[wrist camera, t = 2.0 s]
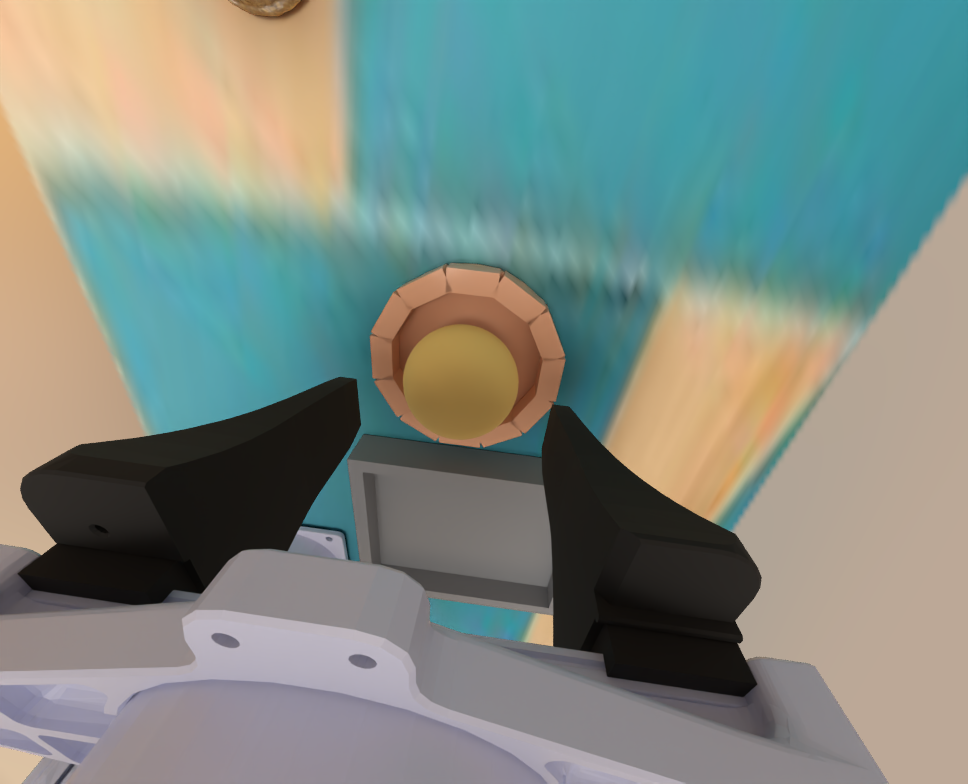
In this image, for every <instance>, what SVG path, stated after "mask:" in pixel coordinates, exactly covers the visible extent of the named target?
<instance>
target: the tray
mask: <svg viewBox="0 0 968 784" xmlns="http://www.w3.org/2000/svg"><path fill="white" fill-rule="evenodd" d="M347 462H348V470H349V478H350V486H351V494H352V502H353V510H354V518H355V526H356V534H357V542H358V550H359V558H360V562H365V563H372V564H379V565H383V566H386V567H390V568H393V569H396V570H399V571H403V572H405V573H406V574H407V575H409V576H410V577H411V578H413V579H414V580H415V581H417V582H418V583H419V584H421V586H422V587H423V588H424V590H425V593H426V595H427V597H428V598H435V599H442V600H449V601H456V602H463V603H470V604H477V605H484V606H491V607H498V608H505V609H512V610H519V611H526V612H533V613H540V614H547V615H553V576H552V548H551V532H550V523H549V517H548V510H547V503H546V497H545V490H544V483H543V476H542V458H539V457H532V456H524V455H517V454H509V453H501V452H494V451H486V450H479V449H471V448H464V447H456V446H448V445H441V444H433V443H426V442H418V441H411V440H403V439H396V438H388V437H380V436H373V435H365V434H363V436H362V437H361V439H360V440H359V442H358V443H357V445H356V446H355V448H354V449H353V451H352V452H351V454H350V456H349V457H348V459H347Z"/></svg>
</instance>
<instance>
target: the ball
mask: <svg viewBox="0 0 968 784" xmlns="http://www.w3.org/2000/svg"><path fill="white" fill-rule="evenodd" d="M518 384H519V380H518V372H517V367H516V364H515V361H514V359H513V357H512V355H511V353H510V351H509V350H508V348H507V347H506V345H505V344H504V343H503V342H502V341H501V340H500V339H499V338H497V337H496V336H495V335H493V334H492V333H490V332H489V331H487V330H485V329H482V328H480V327H476V326H472V325H465V324H455V325H449V326H444V327H442V328H439V329H437V330H435V331H433V332H431V333H429V334H428V335H426V336H425V337H424V338H423V339H422V340H421V341H419V343H418V344H417V345H416V346H415V347H414V349H413V350H412V352H411V353H410V355H409V357H408V359H407V362H406V365H405V369H404V374H403V389H404V395H405V399H406V402H407V404H408V407H409V409H410V410H411V412H412V414H413V415H414V416H415V418H416V419H417V420H418V421H419V422H420V423H421V424H422V425H423V426H424V427H425V428H427V429H428V430H430V431H431V432H433V433H435V434H437V435H439V436H442V437H445V438H449V439H457V440H466V439H472V438H476V437H480V436H482V435H485V434H487V433H489V432H490V431H492V430H493V429H495V428H496V427H498V426H499V425H500V424H501V423H502V422H503V421H504V420H505V418H506V417H507V416H508V415H509V413H510V411H511V410H512V408H513V405H514V403H515V401H516V397H517V393H518Z"/></svg>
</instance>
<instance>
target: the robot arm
mask: <svg viewBox="0 0 968 784" xmlns="http://www.w3.org/2000/svg"><path fill="white" fill-rule="evenodd" d="M360 426H361V421H360V410H359V400H358V389H357V379H352V378H345V377H338V378H335V379H332V380H330V381H327V382H325V383H322V384H320V385H318V386H315V387H313V388H311V389H308V390H306V391H304V392H301V393H299V394H297V395H294V396H292V397H290V398H287V399H284V400H282V401H279V402H277V403H274V404H272V405H269V406H266V407H264V408H261V409H258V410H255V411H252V412H249V413H246V414H243V415H240V416H236V417H233V418H230V419H226V420H222V421H218V422H214V423H210V424H206V425H202V426H197V427H193V428H189V429H184V430H179V431H174V432H169V433H163V434H157V435H151V436H145V437H139V438H132V439H123V440H115V441H106V442H98V443H89V444H81V445H78V446H76V447H74V448H72V449H70V450H68V451H67V452H65V453H63V454H61V455H60V456H58V457H56V458H54V459H53V460H51V461H49V462H47V463H45V464H43V465H42V466H40V467H38V468H36V469H35V470H33V471H31V472H29V473H28V474H27V475H26V476H25V477H23V479H22V483H21V488H20V489H21V490H20V491H21V494H22V498H23V500H24V502H25V503H26V505H27V506H28V508H29V510H30V511H31V512H32V513H33V514H34V516H35V517H36V518H37V520H38V521H39V522H40V523H41V525H42V526H43V527H44V528H45V530H46V531H47V532H48V533H49V535H50V536H51V537H52V539H53V540H54V541H55V542H56V543H57V544H56V545H55V546H53V547H52V548H51V549H49V550H48V551H47V552H45V553H44V554H43V555H40V554H39V553H37V552H34V551H33V550H30V549H27V548H22V547H15V546H8V545H2V544H0V746H1V747H5V748H9V749H13V750H17V751H22V752H26V753H30V754H34V755H38V756H43V757H44V758H42V760H41V761H40V762H39V763H38V765H37V766H36V767H35V768H34V769H33V770H32V772H31V773H30V774H29V775H28V776H27V778H26V779H25V780H24V781H23V783H22V784H889V783H888V781H887V779H886V778H885V776H884V775H883V773H882V772H881V770H880V769H879V767H878V765H877V764H876V762H875V761H874V759H873V757H872V756H871V754H870V753H869V751H868V750H867V748H866V746H865V745H864V743H863V742H862V740H861V739H860V737H859V735H858V734H857V732H856V731H855V729H854V727H853V726H852V724H851V723H850V721H849V719H848V718H847V716H846V715H845V713H844V712H843V710H842V708H841V707H840V705H839V704H838V702H837V701H836V699H835V697H834V696H833V694H832V693H831V691H830V689H829V688H828V686H827V685H826V683H825V682H824V680H823V678H822V677H821V676H820V674H819V672H818V671H817V669H816V667H815V666H813V665H811V664H807V663H801V662H794V661H788V660H780V659H774V658H767V657H755V658H750V659H748V660H745V658H744V656H743V654H742V652H741V650H740V648H739V646H738V644H737V643H741V642H742V641H743V636H742V634H741V632H740V630H739V628H738V626H737V624H736V622H735V620H736V619H737V618H738V617H739V615H740V614H741V613H742V612H743V611H744V609H745V608H746V607H747V606H748V605H749V604H750V602H751V601H752V600H753V599H754V597H755V596H756V594H757V592H758V591H759V589H760V585H761V575H760V572H759V570H758V568H757V566H756V564H755V563H754V561H753V560H752V558H751V557H750V555H749V554H748V552H747V551H746V549H745V548H744V546H743V544H742V543H741V542H740V540H739V538H738V537H737V535H736V534H734V533H732V532H730V531H728V530H726V529H724V528H722V527H720V526H718V525H716V524H714V523H712V522H710V521H708V520H706V519H704V518H702V517H700V516H699V515H697V514H695V513H693V512H691V511H690V510H688V509H686V508H685V507H683V506H681V505H679V504H678V503H676V502H674V501H673V500H671V499H670V498H668V497H666V496H665V495H663V494H662V493H660V492H659V491H657V490H656V489H655V488H653V487H652V486H650V485H649V484H647V483H646V482H645V481H643V480H642V479H641V478H639V477H638V476H637V475H635V474H634V473H633V472H632V471H630V470H629V469H628V468H627V467H626V466H624V465H623V464H622V463H621V462H620V461H619V460H618V459H616V458H615V457H614V456H613V455H612V454H611V453H610V452H609V451H608V450H607V449H606V448H605V447H604V446H603V445H602V444H601V443H600V442H599V441H598V440H597V439H596V437H595V436H594V435H593V434H592V433H591V432H590V431H589V430H588V428H587V427H586V426H585V425H584V424H583V423H582V421H581V420H580V419H579V418H578V417H577V415H576V414H575V413H574V412H573V411H572V409H571V408H570V407H568V406H561V405H553V404H552V407H551V411H550V416H549V420H548V424H547V429H546V433H545V437H544V442H543V446H542V476H543V483H544V490H545V497H546V503H547V510H548V517H549V523H550V532H551V548H552V576H553V646H546V645H539V644H532V643H526V642H519V641H512V640H506V639H499V638H492V637H486V636H479V635H472V634H465V633H461V632H458V631H455V630H452V629H449V628H446V627H444V626H441V625H438V624H435V623H432V622H430V619H429V618H430V603H429V600H428V598H427V595H426V593H425V590H424V588H423V587H422V586H421V584H419V583H418V582H417V581H415V580H414V579H413V578H411V577H410V576H409V575H407V574H406V573H405V572H403V571H399V570H396V569H393V568H390V567H386V566H383V565H379V564H372V563H365V562H358V561H351V560H348V555H347V548H346V541H345V536H344V534H343V533H341V532H338V531H332V530H324V529H317V528H310V527H303V526H301V524H302V522H303V520H304V519H305V517H306V515H307V513H308V511H309V509H310V507H311V505H312V504H313V502H314V500H315V499H316V497H317V496H318V494H319V492H320V491H321V490H322V488H323V487H324V485H325V484H326V482H327V481H328V479H329V478H330V476H331V475H332V473H333V472H334V471H335V469H336V468H337V466H338V465H339V463H340V462H341V460H342V459H343V457H344V456H345V454H346V453H347V451H348V450H349V448H350V447H351V445H352V443H353V441H354V439H355V437H356V434H357V432H358V430H359V428H360Z"/></svg>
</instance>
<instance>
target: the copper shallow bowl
mask: <svg viewBox="0 0 968 784" xmlns="http://www.w3.org/2000/svg"><path fill="white" fill-rule="evenodd" d="M455 324H465V325H472V326H476V327H480V328H482V329H485V330H487V331H489V332H490V333H492V334H493V335H495V336H496V337H497V338H499V339H500V340H501V341H502V342H503V343H504V344H505V345H506V347H507V348H508V350H509V351H510V353H511V355H512V357H513V359H514V361H515V364H516V367H517V372H518V380H519V384H518V393H517V397H516V401H515V403H514V405H513V408H512V410H511V411H510V413H509V415H508V416H507V417H506V418H505V420H504V421H503V422H502V423H501V424H500V425H499V426H498V427H496V428H495V429H493V430H492V431H490V432H489V433H487V434H485V435H482V436H480V437H476V438H472V439H466V440H457V439H449V438H445V437H442V436H439V435H437V434H435V433H433V432H431V431H430V430H428V429H427V428H425V427H424V426H423V425H422V424H421V423H420V422H419V421H418V420H417V419H416V418H415V416H414V415H413V414H412V412H411V410H410V409H409V407H408V404H407V402H406V399H405V395H404V389H403V374H404V369H405V365H406V362H407V359H408V357H409V355H410V353H411V352H412V350H413V349H414V347H415V346H416V345H417V344H418V343H419V341H421V340H422V339H423V338H424V337H425V336H426V335H428V334H429V333H431V332H433V331H435V330H437V329H439V328H442V327H444V326H449V325H455ZM371 332H372V334H371V335H370V344H371V359H372V374H373V378H375V379H376V380H375V381H374V382H375V384H376V386H377V387H378V389H379V390H380V392H381V393H382V395H383V396H384V398H385V399H386V401H387V402H388V404H389V405H390V407H391V408H392V410H393V411H394V413H395V414H396V416H397V417H398V416H401V415H402V416H401V418H400V420H402V421H403V422H405V423H406V424H408V425H410V426H411V427H413V428H415V429H416V430H418V431H420V432H421V433H423V434H425V435H426V436H428V437H429V438H431V439H433V440H434V441H436V440H437V438H438V437H439V442H440V443H448V444H455V445H463V446H471V447H478V448H480V442H481V444H482V446H483V447H486V446H489V445H493V444H496V443H499V442H502V441H506V440H509V439H512V438H515V437H519V436H522V432H524V433H526V432H527V431H528V430H529V429H530V428H531V427H532V426H533V425H534V424H535V423H536V422H537V421H538V420H539V419H540V418H541V417H542V416H543V415H544V414H545V413H546V412H547V411H548V410H549V409H550V408H551V407H552V404H553V405H554V403H553V401H555V402H556V398H557V394H558V390H559V386H560V381H561V377H562V373H563V369H564V364H565V357H564V356H565V354H564V350H563V347H562V344H561V342H560V339H559V336H558V333H557V331H556V328H555V325H554V322H553V320H552V317H551V314H550V311H549V309H548V306H547V304H546V305H545V302H544V300H543V299H542V298H540V297H539V296H538V295H537V294H536V293H535V292H534V291H533V290H532V289H531V288H530V287H528V286H527V285H526V284H525V283H524V282H522V281H521V280H519V279H518V278H516V277H515V276H513V275H511V274H510V273H508V272H507V271H506V270H505V271H503V270H501V268H494V267H491V266H487V265H481V264H473V263H460V264H459V263H450V264H449V265H447V264H444V265H442V266H440V267H438V268H436V269H433V270H431V271H428V272H426V273H425V274H423V275H421V276H419V277H417V278H415V279H413V280H411V281H409V282H407V283H405V284H403V285H402V286H401V287H399V288H398V289H397V290H396V291H395V292H393V294H392V296H391V297H390V299H389V301H388V303H387V304H386V306H385V308H384V310H383V311H382V313H381V315H380V317H379V318H378V320H377V322H376V324H375V325H374V327H373V329H372V331H371Z"/></svg>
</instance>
